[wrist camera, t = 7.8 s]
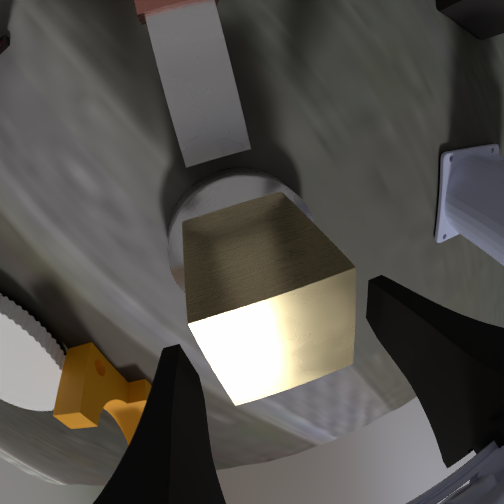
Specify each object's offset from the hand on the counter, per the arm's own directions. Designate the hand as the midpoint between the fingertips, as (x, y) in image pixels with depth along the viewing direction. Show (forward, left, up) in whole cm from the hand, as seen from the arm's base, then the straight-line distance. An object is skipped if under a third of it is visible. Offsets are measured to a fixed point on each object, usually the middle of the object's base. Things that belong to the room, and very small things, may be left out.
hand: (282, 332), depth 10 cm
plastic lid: (+22, +3, -9) cm, 24 cm away
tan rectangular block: (0, 0, -6) cm, 6 cm away
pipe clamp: (+13, +11, -9) cm, 19 cm away
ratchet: (0, -8, -8) cm, 12 cm away
